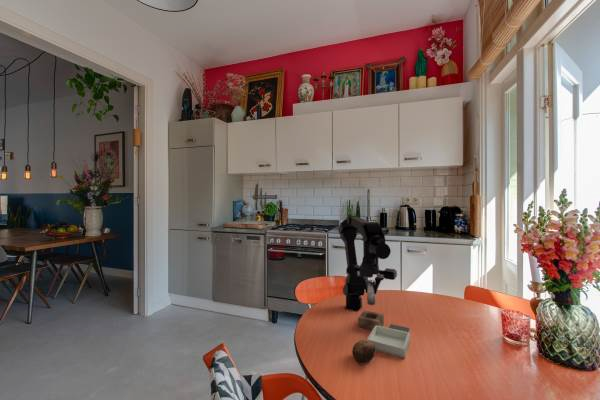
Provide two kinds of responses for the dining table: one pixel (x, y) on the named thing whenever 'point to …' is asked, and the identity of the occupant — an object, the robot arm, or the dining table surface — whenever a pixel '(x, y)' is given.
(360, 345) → the brown coconut
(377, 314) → the brown hollow block
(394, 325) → the mat
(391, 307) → the dining table surface
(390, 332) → the tray
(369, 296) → the pin
